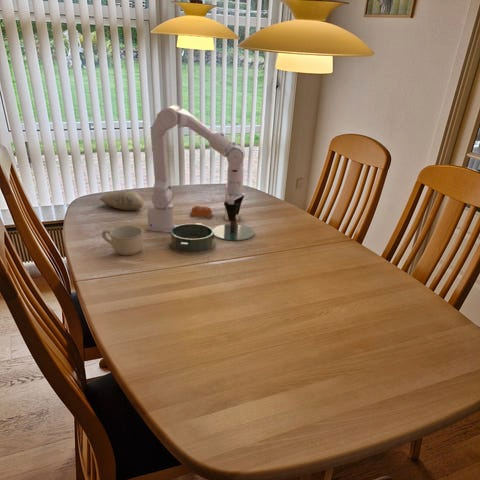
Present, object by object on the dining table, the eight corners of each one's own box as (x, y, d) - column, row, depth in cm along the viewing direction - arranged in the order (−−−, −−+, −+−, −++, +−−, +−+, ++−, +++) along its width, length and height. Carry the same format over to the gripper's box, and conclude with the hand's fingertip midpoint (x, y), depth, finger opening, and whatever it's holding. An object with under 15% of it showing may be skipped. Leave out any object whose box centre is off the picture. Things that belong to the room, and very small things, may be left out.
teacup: (149, 249, 155) (148, 227, 150) (133, 261, 146) (131, 238, 142) (115, 242, 158) (112, 221, 154) (97, 254, 149) (94, 231, 145)
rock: (132, 214, 181) (98, 207, 190) (151, 209, 190) (117, 202, 199) (131, 196, 178) (96, 189, 187) (150, 192, 186) (116, 185, 195)
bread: (190, 217, 184) (190, 207, 182) (193, 213, 188) (193, 203, 186) (209, 219, 183) (209, 209, 181) (212, 215, 187) (212, 205, 185)
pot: (163, 254, 152) (162, 239, 149) (180, 233, 169) (180, 219, 166) (205, 259, 150) (205, 244, 147) (219, 237, 167) (219, 223, 164)
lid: (207, 239, 165) (207, 224, 161) (217, 225, 178) (217, 210, 175) (250, 244, 162) (251, 229, 159) (256, 229, 176) (257, 214, 173)
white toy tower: (238, 221, 182) (240, 186, 175) (224, 220, 182) (225, 185, 175) (238, 216, 187) (240, 182, 180) (224, 216, 187) (225, 181, 179)
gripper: (242, 187, 153) (240, 225, 160) (249, 177, 165) (247, 212, 172) (222, 185, 154) (221, 223, 161) (230, 175, 166) (229, 210, 173)
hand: (233, 217), depth 167 cm, fingers open, 7 cm apart
